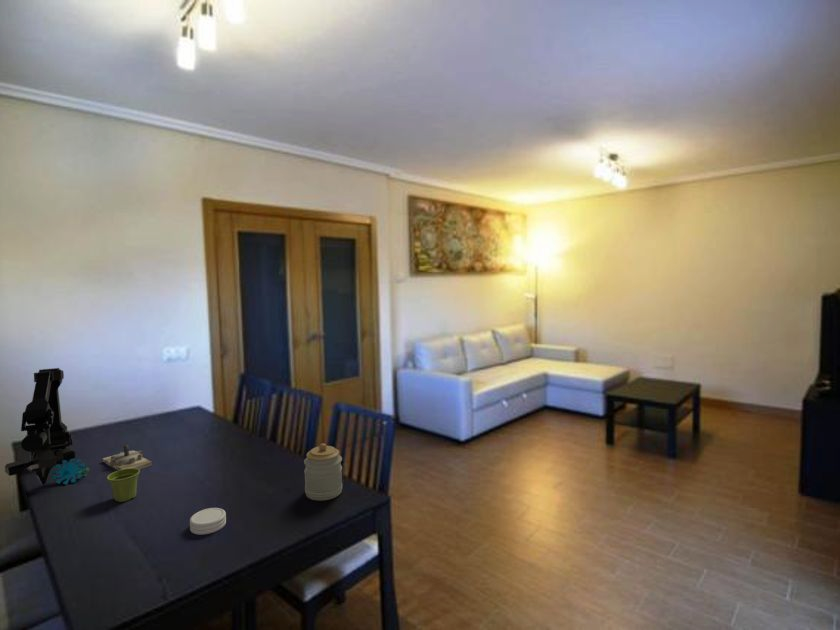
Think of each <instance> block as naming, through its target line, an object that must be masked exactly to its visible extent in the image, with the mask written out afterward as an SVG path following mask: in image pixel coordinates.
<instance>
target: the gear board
mask: <svg viewBox="0 0 840 630" xmlns="http://www.w3.org/2000/svg"><path fill="white" fill-rule="evenodd" d="M129 446H130V445H129V444H126V445H123V451H121V452H119V453H117V454H114V455H110V456H106V457H103V458H102V463H104V464H105V465H107V466H110V467H111V468H112V469H114V468H115V469H114V470H116V469H117V470H116V471H118V470H122V469H127V468H137V469H139V470H142V469H144V468H145V469H146V468H148V467H151V466H152V465H153V462H152V461H151V460H149V459H148V458H145V457H143V455H144V454H143V451H142V450H139V451H136V450H135V449H132V450H130V449H129Z"/></svg>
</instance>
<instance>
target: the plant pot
mask: <svg viewBox="0 0 840 630" xmlns="http://www.w3.org/2000/svg"><path fill="white" fill-rule="evenodd" d="M140 472H141V469H137V468H127V469H122V470H116V471H113V472H112V473H110V474H108V475H107V478H106V479H107V480H108V482H109V483H110V485H111V489H112V494H113V498H114V502H119V503H123V502H127V501H130V500H132V499H134V498H136V497H137V489H138V487H137V485H138V478H139V475H140Z"/></svg>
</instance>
